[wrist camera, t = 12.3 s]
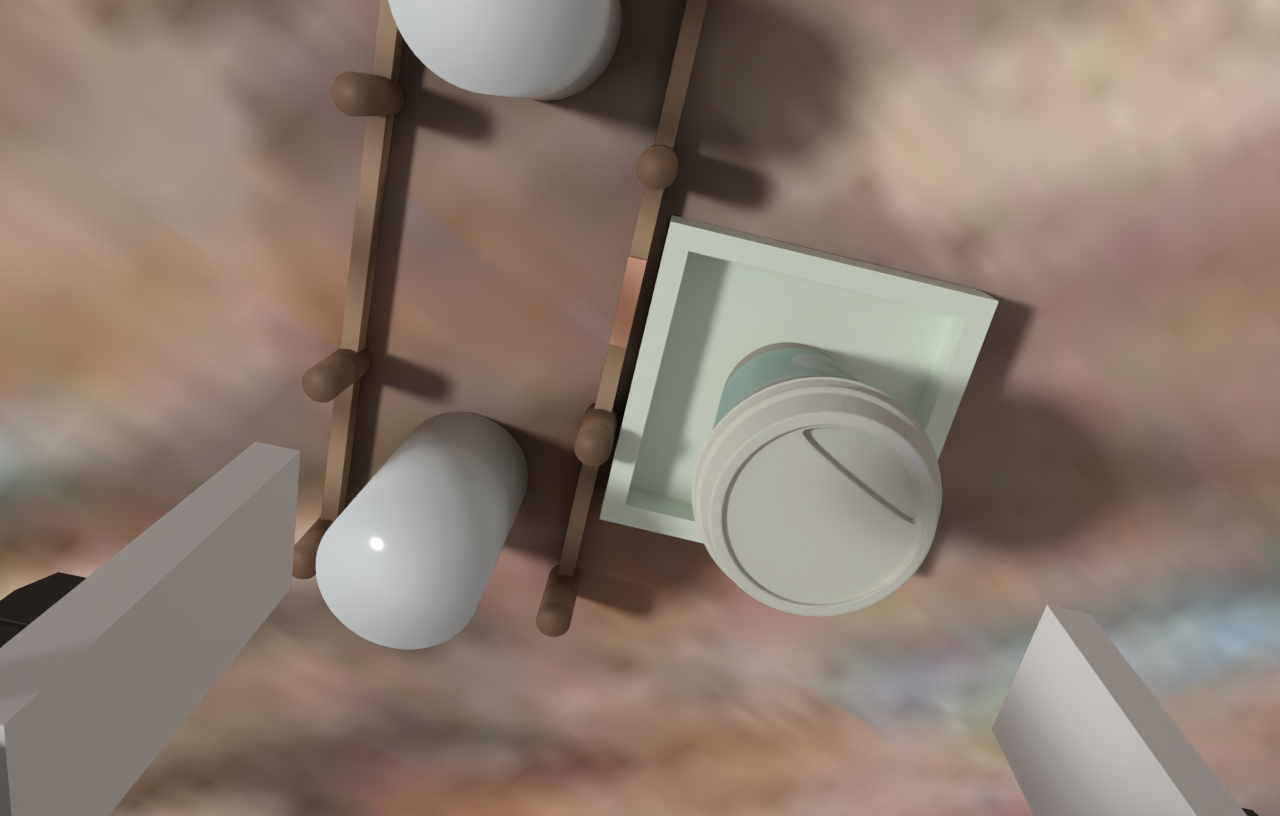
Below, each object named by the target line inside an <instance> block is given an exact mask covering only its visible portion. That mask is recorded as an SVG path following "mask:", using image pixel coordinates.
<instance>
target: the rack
mask: <svg viewBox="0 0 1280 816" xmlns="http://www.w3.org/2000/svg"><path fill="white" fill-rule="evenodd" d="M707 3H708V0H687V3H686V8H685V12H684V16H683V21H682V25H681V30H680V34H679V38H678V43H677V47H676V52H675V56H674V60H673V65H672V69H671V74H670V78H669V83H668V87H667V91H666V96H665V100H664V105H663V109H662V113H661V118H660V122H659V127H658V131H657V135H656V140H655V144H654V145H653V146H651V147H650V148H648V149H647V150H646V151H645V152H644V153H643V154H642V155H641V156H640V158H639V160H638V162H637V175H638V178H639V180H640V181H641V182H642V184H643V185H645V188H644V193H643V197H642V202H641V206H640V210H639V215H638V219H637V224H636V228H635V232H634V237H633V241H632V246H631V250H630V254H629V258H628V262H627V267H626V271H625V276H624V280H623V284H622V289H621V293H620V298H619V302H618V307H617V311H616V315H615V320H614V324H613V329H612V333H611V337H610V342H609V347H608V351H607V356H606V360H605V365H604V369H603V374H602V378H601V382H600V387H599V391H598V396H597V400H596V403H594V404H592V405H591V406H590V407H589V408H588V409H587V411H586V413H585V416H584V419H583V422H582V425H581V428H580V431H579V434H578V437H577V439H576V442H575V447H574V449H575V454H576V456H577V458H578V459H579V460H580V461H581V462H582V466H581V471H580V475H579V479H578V484H577V488H576V493H575V497H574V501H573V506H572V510H571V515H570V519H569V523H568V528H567V532H566V537H565V541H564V545H563V550H562V554H561V559H560V563H559V565H557V566H555V567H554V568H553V569H552V570H551V572H550V574H549V578H548V581H547V584H546V588H545V591H544V594H543V598H542V601H541V604H540V608H539V611H538V614H537V618H536V624H537V627H538V629H539V630H540V631H541V632H542V633H543V634H545V635H547V636H551V637H557V636H561V635H563V634H564V633H566V632H567V630H568V629H569V626H570V622H571V618H572V614H573V609H574V605H575V601H576V596H577V592H578V588H579V583H580V574H579V572H578V571H577V569H575V566H576V562H577V558H578V553H579V549H580V545H581V541H582V536H583V532H584V528H585V523H586V519H587V515H588V511H589V506H590V502H591V498H592V494H593V489H594V485H595V481H596V477H597V472H598V468H599V465H601V464H603V463H605V462H606V461H607V460H608V458H609V457H610V454H611V450H612V446H613V441H614V437H615V433H616V428H617V424H618V413H617V411H616V409H615V408H614V407H613V404H614V400H615V396H616V391H617V387H618V383H619V378H620V374H621V370H622V366H623V361H624V357H625V353H626V349H627V344H628V340H629V336H630V332H631V327H632V323H633V319H634V314H635V310H636V306H637V302H638V297H639V293H640V289H641V285H642V280H643V276H644V272H645V268H646V263H647V259H648V255H649V251H650V246H651V242H652V238H653V233H654V229H655V225H656V221H657V216H658V212H659V208H660V204H661V199H662V195H663V191H664V189H665V188H667V187H669V186H670V185H671V184H672V183H673V182H674V180H675V179H676V177H677V173H678V168H679V159H678V155H677V153H676V152H675V151H674V149H673V148H674V144H675V140H676V135H677V131H678V127H679V123H680V118H681V114H682V110H683V106H684V101H685V97H686V93H687V88H688V84H689V80H690V76H691V71H692V67H693V63H694V59H695V54H696V50H697V46H698V42H699V37H700V33H701V29H702V24H703V20H704V16H705V12H706V7H707ZM403 42H404V38H403V36H402V35H401V33H400V31H399V29H398V27H397V25H396V22H395V20H394V18H393V15H392V12H391V8H390V5H389V2H388V0H380V8H379V16H378V25H377V34H376V42H375V51H374V60H373V69H372V74H365V73H358V72H344V73H341V74H340V75H338V76H337V77H336V78H335V80H334V82H333V84H332V88H331V95H332V99H333V102H334V104H335V105H336V107H337V108H338V109H339V110H340V111H341V112H343V113H344V114H346V115H349V116H367V121H366V129H365V138H364V147H363V156H362V164H361V173H360V182H359V190H358V199H357V208H356V216H355V225H354V234H353V243H352V251H351V260H350V269H349V277H348V286H347V295H346V303H345V312H344V321H343V330H342V338H341V347H340V349H339V350H337V351H336V352H334V353H333V354H331V355H330V356H328V357H327V358H325V359H324V360H322V361H321V362H319V363H318V364H316V365H315V366H313V367H312V368H310V369H309V370H307V371H306V372H305V374H304V376H303V378H302V386H303V389H304V391H305V393H306V394H307V395H308V396H309V397H310V398H311V399H313V400H314V401H317V402H329V401H331V400H333V399H334V398H335V399H334V408H333V417H332V425H331V434H330V443H329V451H328V460H327V469H326V478H325V486H324V495H323V504H322V512H321V517H320V518H319V519H318V520H317V521H316V522H315V524H314V525H313V526H312V527H311V528H310V529H309V530H308V531H307V532H306V533H305V534H304V536H303V537H302V538H301V539H300V540H299V541H298V542H297V543H296V544H295V545H294V556H293V571H292V576H294V577H295V578H298V579H309V578H311V577H313V576H314V575H315V574H316V556H317V551H318V547H319V545H320V542H321V540H322V538H323V536H324V534H325V532H326V531H327V530H328V529H329V527H330V526H331V525H332V524H333V522H334V521H335V520H336V519H337V518H338V517H339V516H340V514H341V513H342V512H343V511H344V510H345V505H346V497H347V489H348V481H349V473H350V465H351V457H352V449H353V441H354V433H355V425H356V417H357V409H358V401H359V393H360V385H361V377H362V376H363V375H364V374H365V373H367V372H368V371H369V369H370V368H371V364H372V358H371V355H370V353H369V351H368V350H367V349H366V348H365V345H366V337H367V329H368V321H369V313H370V305H371V297H372V289H373V281H374V273H375V265H376V257H377V249H378V241H379V233H380V225H381V217H382V209H383V201H384V193H385V185H386V177H387V169H388V161H389V153H390V145H391V137H392V129H393V121H394V115H396V114H398V113H399V112H401V110H402V109H403V107H404V105H405V101H406V96H405V91H404V89H403V87H402V85H401V84H400V83H399V82H398V81H399V73H400V65H401V58H402V50H403Z"/></svg>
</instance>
